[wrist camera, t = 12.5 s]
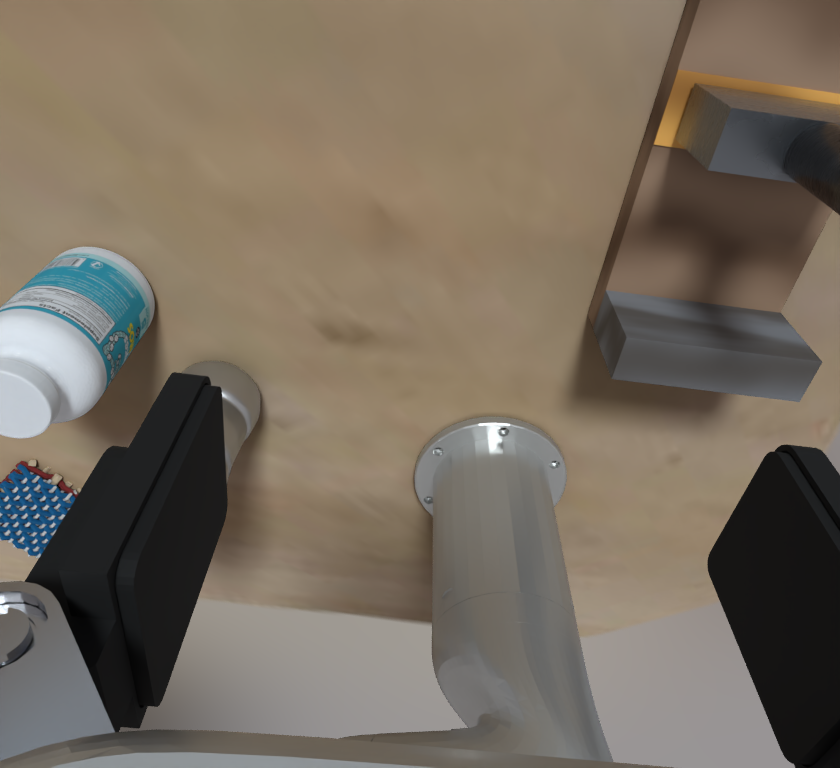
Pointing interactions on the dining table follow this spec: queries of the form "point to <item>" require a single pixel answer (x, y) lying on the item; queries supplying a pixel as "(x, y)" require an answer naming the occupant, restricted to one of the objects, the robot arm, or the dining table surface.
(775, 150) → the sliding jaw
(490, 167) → the dining table surface
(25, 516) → the woven mat
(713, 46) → the press base
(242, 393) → the plastic bottle
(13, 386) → the pill bottle
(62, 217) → the dining table surface
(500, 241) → the dining table surface
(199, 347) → the dining table surface
